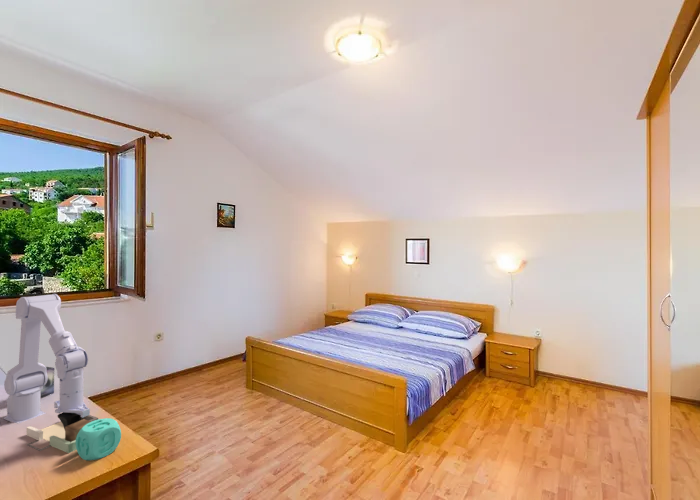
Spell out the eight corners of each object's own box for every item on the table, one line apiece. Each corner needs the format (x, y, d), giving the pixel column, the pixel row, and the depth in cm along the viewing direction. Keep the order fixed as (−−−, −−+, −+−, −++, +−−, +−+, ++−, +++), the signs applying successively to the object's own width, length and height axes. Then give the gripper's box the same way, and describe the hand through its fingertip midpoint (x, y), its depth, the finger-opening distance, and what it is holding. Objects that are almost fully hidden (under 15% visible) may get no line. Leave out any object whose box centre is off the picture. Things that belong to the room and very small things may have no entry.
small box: (25, 405, 128) (25, 376, 128) (11, 403, 130) (11, 375, 129) (55, 393, 139) (55, 367, 138) (42, 391, 140) (42, 365, 140)
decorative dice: (105, 441, 105) (105, 415, 105) (121, 448, 102) (121, 421, 102) (75, 456, 98) (75, 428, 98) (91, 464, 95) (91, 435, 95)
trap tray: (14, 441, 104) (14, 431, 104) (73, 418, 119) (73, 409, 119) (57, 460, 96) (57, 450, 96) (115, 432, 110) (115, 423, 110)
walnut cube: (65, 443, 103) (65, 426, 103) (83, 434, 108) (83, 418, 108) (75, 447, 101) (75, 430, 101) (93, 438, 106) (93, 422, 106)
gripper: (42, 391, 105) (42, 435, 105) (70, 400, 99) (70, 447, 100) (69, 383, 112) (69, 425, 112) (97, 391, 106) (97, 435, 106)
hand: (71, 435), depth 106 cm, fingers closed
